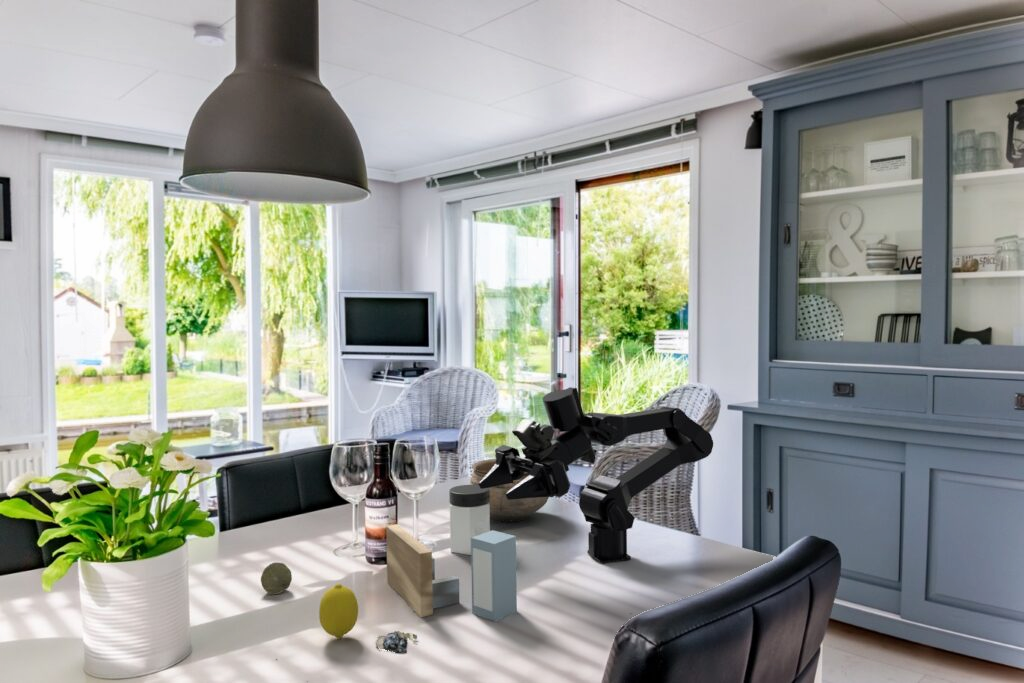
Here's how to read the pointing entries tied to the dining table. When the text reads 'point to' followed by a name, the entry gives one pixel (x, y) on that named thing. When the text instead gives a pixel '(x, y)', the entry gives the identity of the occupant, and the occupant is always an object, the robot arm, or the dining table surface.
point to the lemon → (338, 611)
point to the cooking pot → (498, 501)
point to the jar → (468, 516)
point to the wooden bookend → (417, 573)
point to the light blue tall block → (493, 575)
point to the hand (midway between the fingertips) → (492, 491)
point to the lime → (276, 578)
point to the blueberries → (395, 641)
